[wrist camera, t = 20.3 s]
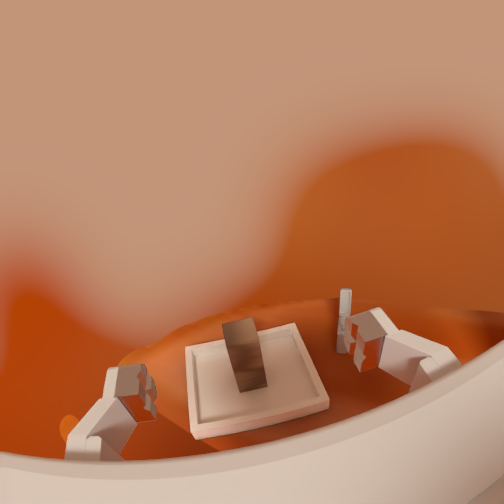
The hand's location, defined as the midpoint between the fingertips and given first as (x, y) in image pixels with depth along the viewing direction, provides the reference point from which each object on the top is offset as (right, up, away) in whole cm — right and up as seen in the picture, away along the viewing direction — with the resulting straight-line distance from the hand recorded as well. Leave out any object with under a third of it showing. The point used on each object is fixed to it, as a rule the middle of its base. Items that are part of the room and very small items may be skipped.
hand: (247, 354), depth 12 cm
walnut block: (0, -14, +31) cm, 34 cm away
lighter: (+15, -10, +36) cm, 40 cm away
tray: (0, -15, +31) cm, 34 cm away
